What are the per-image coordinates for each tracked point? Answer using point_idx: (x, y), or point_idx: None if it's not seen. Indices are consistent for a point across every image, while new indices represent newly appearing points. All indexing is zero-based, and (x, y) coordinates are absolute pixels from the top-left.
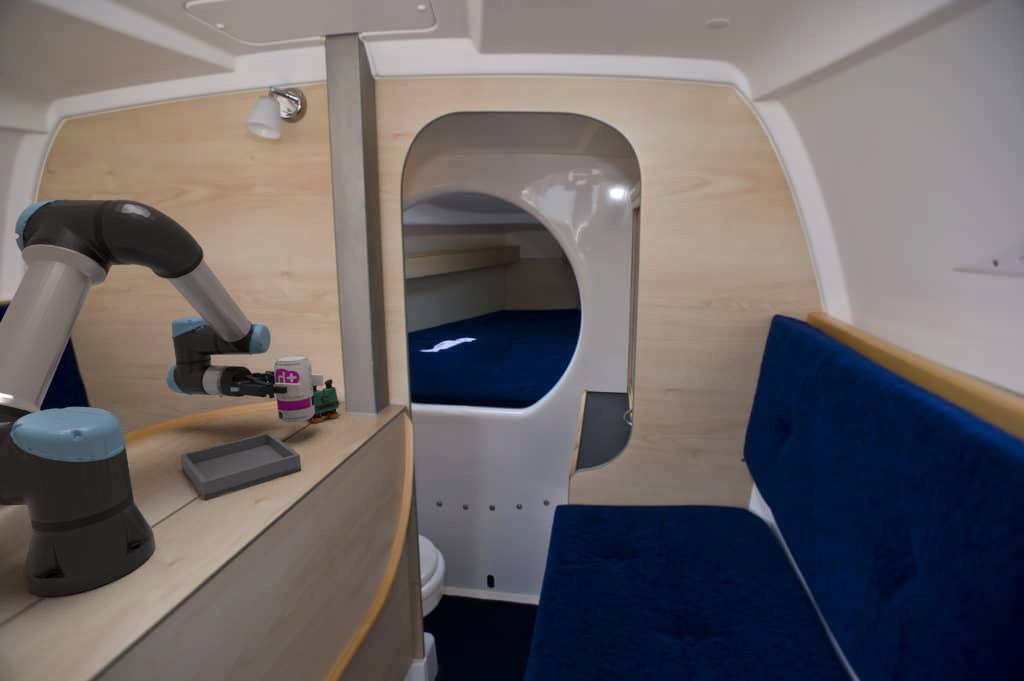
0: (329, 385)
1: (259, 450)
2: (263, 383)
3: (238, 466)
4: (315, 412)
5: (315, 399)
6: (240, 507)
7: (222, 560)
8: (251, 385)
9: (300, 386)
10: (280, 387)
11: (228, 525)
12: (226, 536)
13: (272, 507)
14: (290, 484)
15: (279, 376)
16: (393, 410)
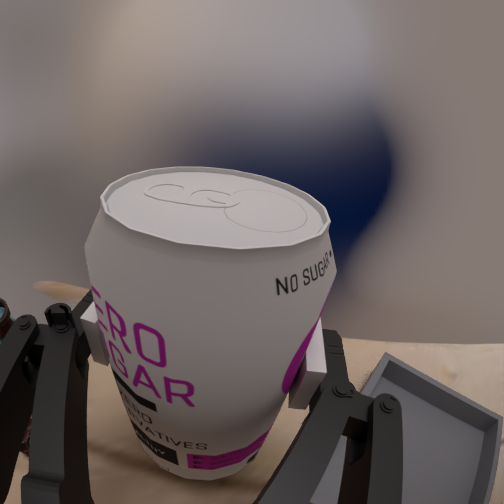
0: (10, 318)
1: (338, 489)
2: (328, 447)
3: (419, 467)
4: None
5: None
6: (469, 383)
7: (499, 344)
8: (395, 483)
9: None
10: (334, 348)
11: (486, 370)
12: (491, 360)
13: (450, 354)
14: (409, 364)
15: (317, 323)
16: (56, 286)
